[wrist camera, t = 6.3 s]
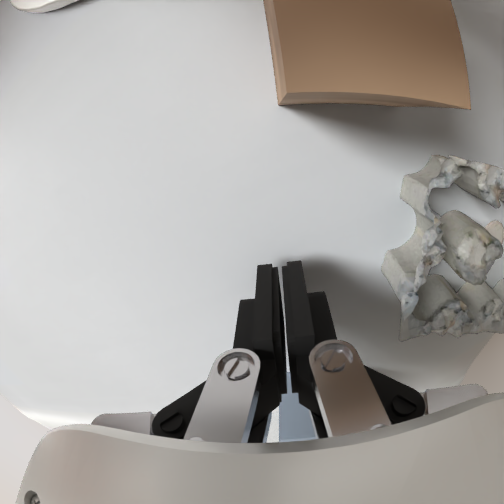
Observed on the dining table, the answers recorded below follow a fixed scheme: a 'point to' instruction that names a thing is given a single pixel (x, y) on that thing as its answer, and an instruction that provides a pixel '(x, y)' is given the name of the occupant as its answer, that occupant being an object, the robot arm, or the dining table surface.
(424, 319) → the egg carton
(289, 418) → the slate-blue block
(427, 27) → the walnut block
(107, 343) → the dining table surface
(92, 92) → the dining table surface
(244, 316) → the robot arm
